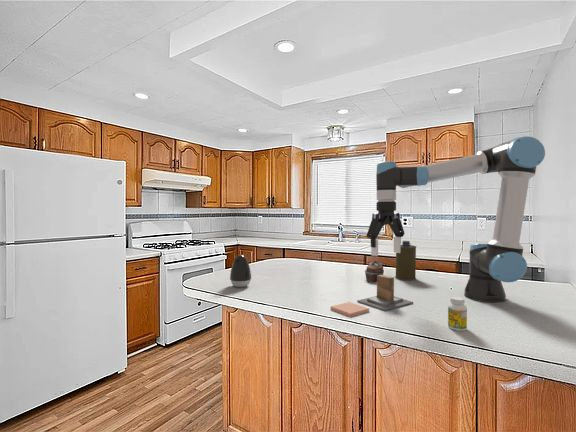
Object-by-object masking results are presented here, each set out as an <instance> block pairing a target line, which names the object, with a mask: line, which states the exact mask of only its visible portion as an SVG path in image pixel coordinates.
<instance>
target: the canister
mask: <svg viewBox="0 0 576 432" xmlns="http://www.w3.org/2000/svg"><path fill="white" fill-rule="evenodd" d="M410 242H411V241H410V240H403V241H401V243H402V244H400V253H395V276H394V279H396V280H400V281H401V280H402V281H414V280H415V281H416V279H417V276H416V275H417V274H416V271H417V269H416V267H417V265H416V263H417V261H416V259H417V257H416V256H417V245H413V244H411V243H410Z"/></svg>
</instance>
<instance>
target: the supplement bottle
mask: <svg viewBox="0 0 576 432" xmlns="http://www.w3.org/2000/svg"><path fill="white" fill-rule="evenodd" d="M465 301H466V300H465V298H463V297H459V296H451V297H450V300H449V302H450V303H448V306H447V327H448V328H449V329H451V330H453V331H458V332H463V331H466V330H467V327H468V325H467V324H468V323H467V322H468V308H467V306H466V305H465Z"/></svg>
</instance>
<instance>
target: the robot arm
mask: <svg viewBox="0 0 576 432" xmlns="http://www.w3.org/2000/svg"><path fill="white" fill-rule="evenodd" d="M545 157H546V150H545V147H544V145H543V143H542V142H541V141H540V140H539V139H537V138H535V137H533V136H529V135H528V136H527V135H526V136H521V137H520V136H519V137H515V138H513V139H511V140H509V141H505V142H503V143H499V144H498V145H496V146H493V147H491V148H488V149H485V150H480V151H478V152H477V153H476V154H472V155H468V156H464V157H459V158H458V157H457V158H454V159H450V160H445V161H441V162H435V163H431V164H425V165H422V166H420V165H418V166H397V163H396V161H380V162H378V163H377V164H376V173H375V174H376V175H375V176H376V181H375V184H376V185H375V186H376V201H377V202H376V204H375V205H376V211H377V213H372V215H371V221H370V224H369V228H368V230H367V233H366V238H368V239H370V248H371V250H370V251H371V254H370V256H373V257H378V256H379V239H378V236H379V234H380V233H381V231H382V229H383V227H384V226H385V225H387V226H389V227H390V229H391V231H392V233H393V234H394V236H393V253H395V254H396V253H400V245H402V244H401V243H402V238H403V237H404V235H405V230H404V227H403V225H402V224H403V223H402V220H401V217H400V216H401V215H400V212H396V211H397V202H396V200H397V187H399V188H402V189H405V188H409V187H414V186H415V187H416V186H417V187H420V186H427V184H428V183H434V182H438V181H443V180H448V179H454V178H458V177H463V176H467V175H473V174H479V173H480V174H482V175H484V174H490V173H498V175H499V176H500V177H501V181H500V189H499V195H498V202H497V207H496V208H497V209H496V214H495V220H494V221H495V223H494V228H493V235H492V239H491V240H489V241H488V242H487V243H472V244H470V246H469V251H468V252H469V273H468V274H469V275H468V276H469V278H468V280H467V283H466V285H465V288H464V292H463V293H464V294H463V295H464V296H465V297H466V298H468V299H471V300H474V301H479V302H483V303H484V302H486V303H503V302H506V299H507V295H506V294H507V293H506V291H505V288H504V285H503V283H513V282H517V281H518V280H521V279H522V278H523V277H524V276H525V275H526V273H527V270H528V263H527V260H526V259H525V258H524V256H523V254H524V247H523V246H522V245H521V244H520V241H521V234H522V227H523V220H524V216H525V215H524V214H525V209H526V203H527V197H528V196H527V195H528V188H529V182H530V179H532V178H533V177H535V176H536V171H537V166H539V165H541V163H542V162H543V161H544V159H545Z"/></svg>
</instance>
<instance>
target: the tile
mask: <svg viewBox="0 0 576 432" xmlns="http://www.w3.org/2000/svg"><path fill="white" fill-rule="evenodd" d="M330 310H331V311H333V312H336V313H340V314H341V315H344V316H347V317H349V318H351V317H354V316H359V315H362V314H366V313H369V312H370V308H368V307H366V306H363V305H360V304H357V303H354V302H352V301H351V302H350V301H348V302H347V301H346V302H343V303H339V304H335V305H331V306H330Z"/></svg>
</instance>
